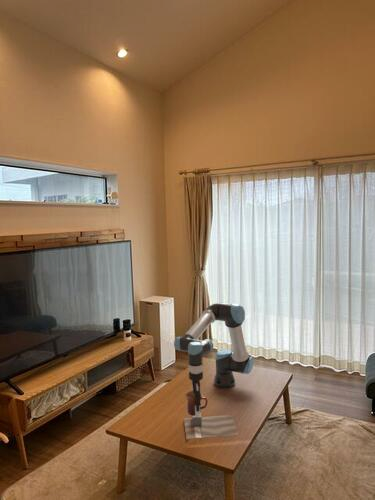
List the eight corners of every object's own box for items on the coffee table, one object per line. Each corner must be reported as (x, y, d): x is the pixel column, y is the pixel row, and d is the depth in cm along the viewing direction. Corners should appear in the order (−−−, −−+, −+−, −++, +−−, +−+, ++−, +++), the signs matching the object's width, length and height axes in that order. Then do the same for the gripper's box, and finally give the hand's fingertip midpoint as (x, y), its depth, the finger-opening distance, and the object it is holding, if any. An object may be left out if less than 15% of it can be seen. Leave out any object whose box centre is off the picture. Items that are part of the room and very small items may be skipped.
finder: (191, 419, 214) (191, 410, 214) (200, 418, 215) (199, 409, 214) (192, 426, 207) (192, 416, 207) (201, 425, 208) (201, 416, 207)
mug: (183, 415, 197) (183, 397, 196) (189, 407, 205) (188, 390, 204) (205, 419, 193) (204, 400, 192) (209, 411, 201) (209, 393, 200)
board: (183, 417, 218) (183, 415, 218) (230, 414, 220) (230, 412, 220) (186, 441, 196) (186, 438, 195) (238, 436, 198) (238, 434, 198)
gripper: (187, 364, 208) (188, 403, 210) (190, 380, 187) (191, 423, 189) (200, 363, 208) (201, 402, 210) (205, 379, 188) (206, 421, 190)
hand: (197, 412), depth 200 cm, fingers closed on mug, 7 cm apart
